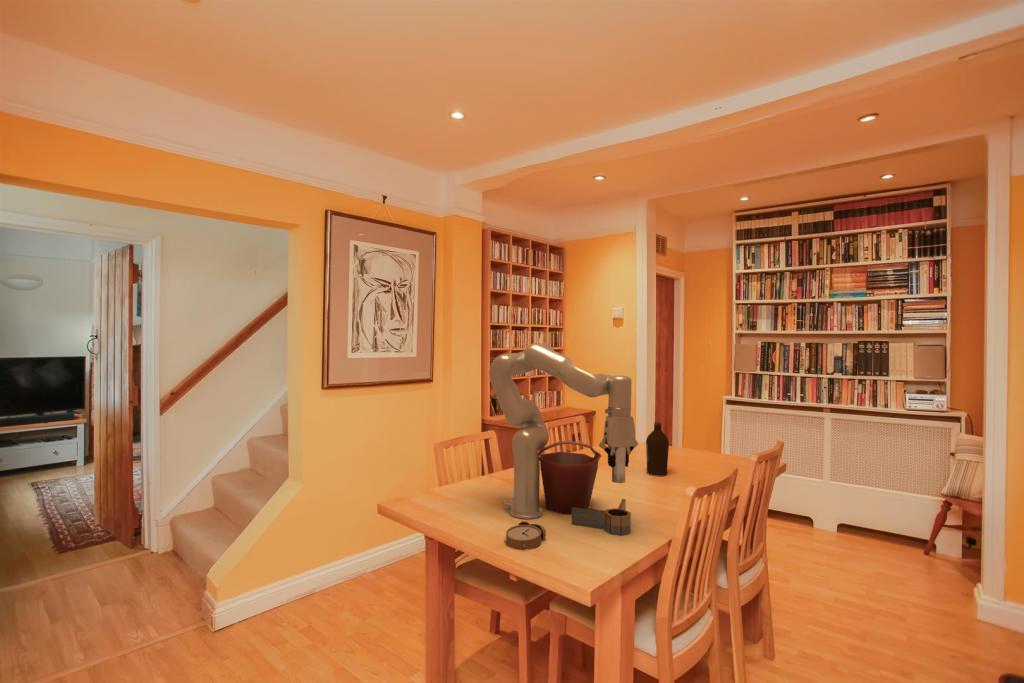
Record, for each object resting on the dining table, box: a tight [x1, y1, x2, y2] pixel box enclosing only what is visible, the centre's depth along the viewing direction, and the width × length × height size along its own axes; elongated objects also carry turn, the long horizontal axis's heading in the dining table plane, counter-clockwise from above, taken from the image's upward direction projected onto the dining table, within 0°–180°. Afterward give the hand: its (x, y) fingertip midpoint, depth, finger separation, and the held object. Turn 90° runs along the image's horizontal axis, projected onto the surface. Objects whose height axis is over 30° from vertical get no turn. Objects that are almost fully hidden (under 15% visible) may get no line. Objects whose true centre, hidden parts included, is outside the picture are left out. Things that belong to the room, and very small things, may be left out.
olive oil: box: [645, 421, 670, 476], centre depth 245 cm, size 11×11×25 cm
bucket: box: [538, 440, 602, 515], centre depth 194 cm, size 24×22×25 cm
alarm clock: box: [504, 520, 547, 551], centre depth 162 cm, size 11×5×15 cm
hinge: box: [570, 498, 632, 536], centre depth 179 cm, size 20×20×6 cm
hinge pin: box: [611, 446, 626, 484], centre depth 171 cm, size 4×4×14 cm
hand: (618, 465), depth 171 cm, fingers closed on hinge pin, 4 cm apart
